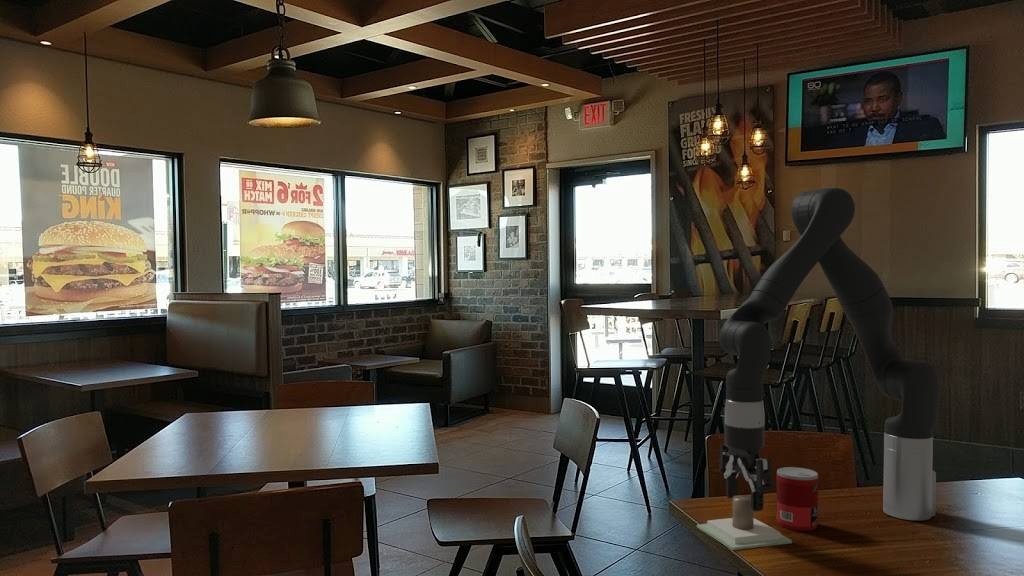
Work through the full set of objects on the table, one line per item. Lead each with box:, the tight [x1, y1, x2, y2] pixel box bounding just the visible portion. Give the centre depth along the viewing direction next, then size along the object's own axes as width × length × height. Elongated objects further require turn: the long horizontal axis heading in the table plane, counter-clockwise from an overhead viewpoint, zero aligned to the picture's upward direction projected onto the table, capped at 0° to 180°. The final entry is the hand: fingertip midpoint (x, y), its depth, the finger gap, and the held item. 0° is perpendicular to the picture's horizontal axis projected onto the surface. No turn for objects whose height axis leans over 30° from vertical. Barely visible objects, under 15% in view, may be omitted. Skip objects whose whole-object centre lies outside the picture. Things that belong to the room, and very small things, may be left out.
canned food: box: [775, 466, 819, 532], centre depth 155 cm, size 8×8×11 cm
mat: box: [696, 523, 793, 551], centre depth 149 cm, size 13×13×1 cm
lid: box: [706, 494, 781, 544], centre depth 149 cm, size 10×10×7 cm
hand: (744, 503), depth 149 cm, fingers open, 8 cm apart
